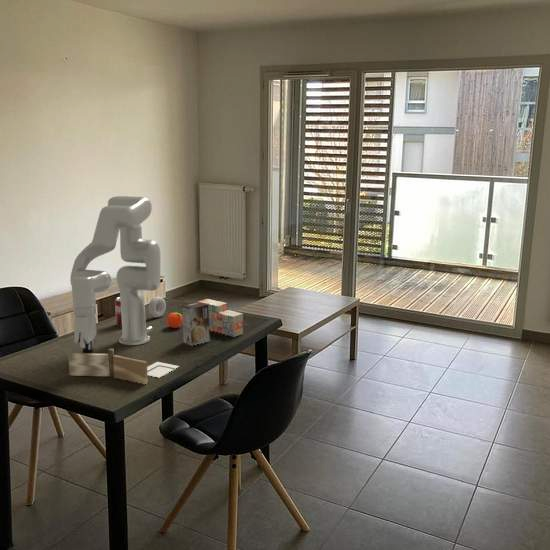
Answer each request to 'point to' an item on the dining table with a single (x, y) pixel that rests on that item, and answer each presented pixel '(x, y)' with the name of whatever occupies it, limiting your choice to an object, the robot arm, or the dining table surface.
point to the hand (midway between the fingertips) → (88, 359)
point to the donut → (152, 307)
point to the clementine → (174, 320)
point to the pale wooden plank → (88, 364)
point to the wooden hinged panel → (127, 368)
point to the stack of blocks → (224, 318)
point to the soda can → (118, 312)
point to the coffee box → (195, 323)
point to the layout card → (160, 369)
